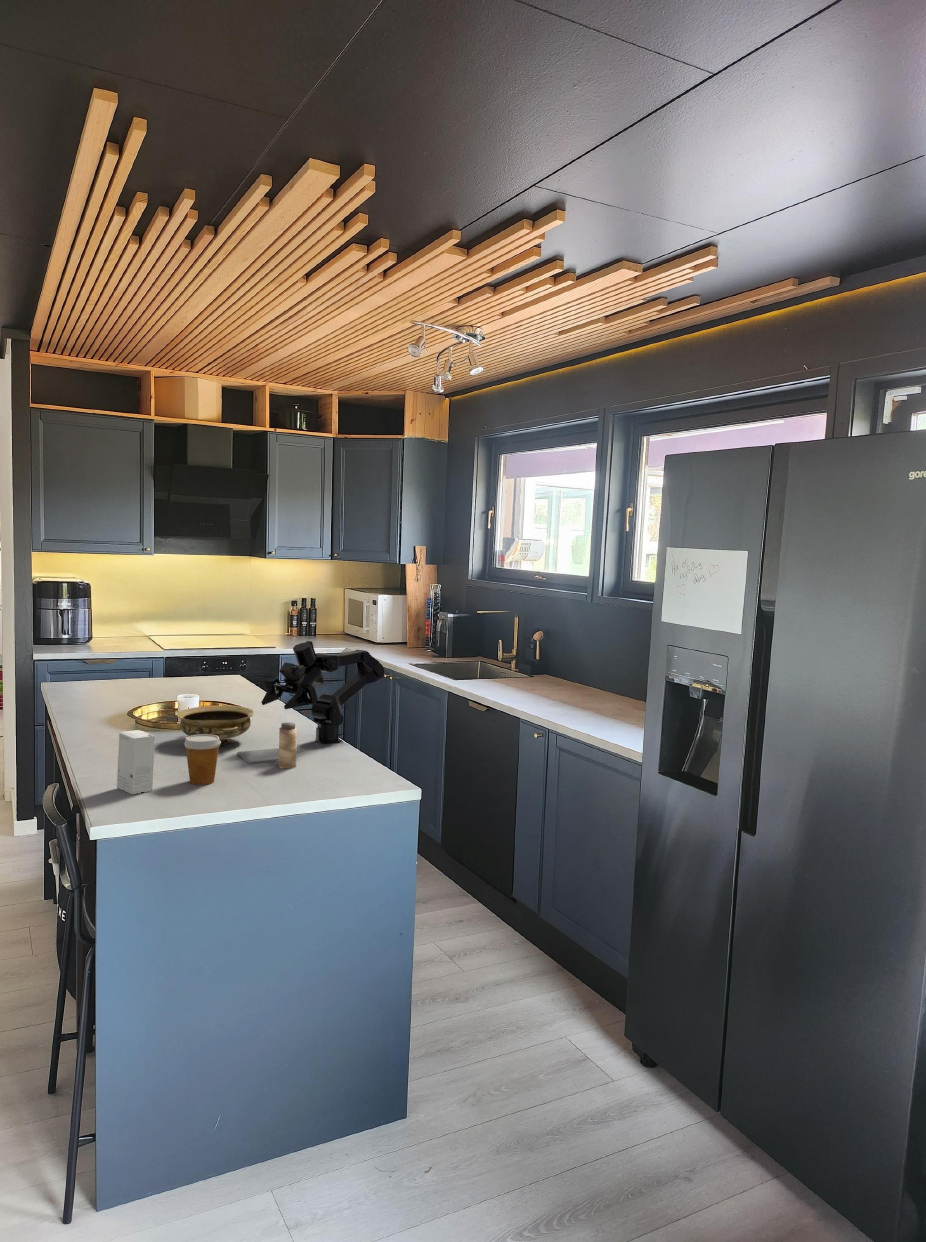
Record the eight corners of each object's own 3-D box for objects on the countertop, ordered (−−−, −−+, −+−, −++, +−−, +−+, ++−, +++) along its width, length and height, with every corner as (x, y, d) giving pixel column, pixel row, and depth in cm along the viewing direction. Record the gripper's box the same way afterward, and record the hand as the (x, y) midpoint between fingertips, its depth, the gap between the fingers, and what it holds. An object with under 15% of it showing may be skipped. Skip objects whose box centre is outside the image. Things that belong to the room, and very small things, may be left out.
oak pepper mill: (292, 763, 248) (293, 721, 247) (298, 767, 243) (299, 724, 242) (276, 764, 245) (277, 722, 244) (281, 769, 241) (282, 726, 240)
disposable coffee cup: (227, 779, 228) (228, 736, 227) (206, 788, 219) (206, 743, 218) (198, 775, 231) (198, 732, 230) (175, 783, 222) (176, 739, 221)
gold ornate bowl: (163, 737, 274) (163, 707, 273) (234, 730, 288) (234, 701, 288) (194, 757, 250) (194, 724, 249) (269, 748, 264) (270, 717, 264)
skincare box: (116, 788, 216) (116, 731, 215) (138, 784, 221) (138, 728, 220) (132, 795, 211) (133, 737, 210) (155, 790, 216) (155, 734, 214)
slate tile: (278, 750, 263) (278, 748, 263) (291, 759, 252) (291, 757, 252) (237, 753, 256) (237, 751, 256) (248, 763, 245) (248, 761, 245)
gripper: (276, 653, 267) (243, 679, 255) (321, 660, 257) (289, 687, 246) (285, 683, 272) (253, 709, 260) (330, 690, 262) (299, 718, 251)
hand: (273, 705), depth 254 cm, fingers open, 9 cm apart
